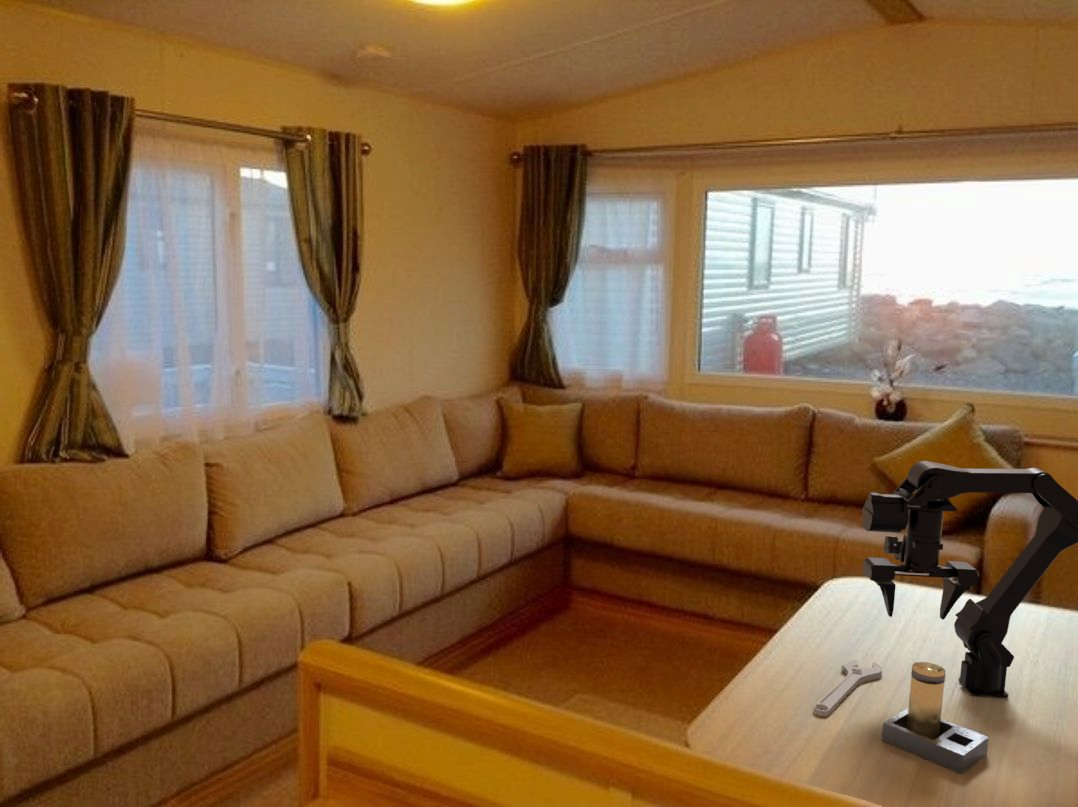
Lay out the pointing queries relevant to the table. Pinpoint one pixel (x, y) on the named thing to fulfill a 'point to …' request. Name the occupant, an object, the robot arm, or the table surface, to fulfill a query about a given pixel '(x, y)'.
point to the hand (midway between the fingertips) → (915, 617)
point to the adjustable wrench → (846, 685)
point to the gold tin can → (926, 699)
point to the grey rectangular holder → (938, 743)
